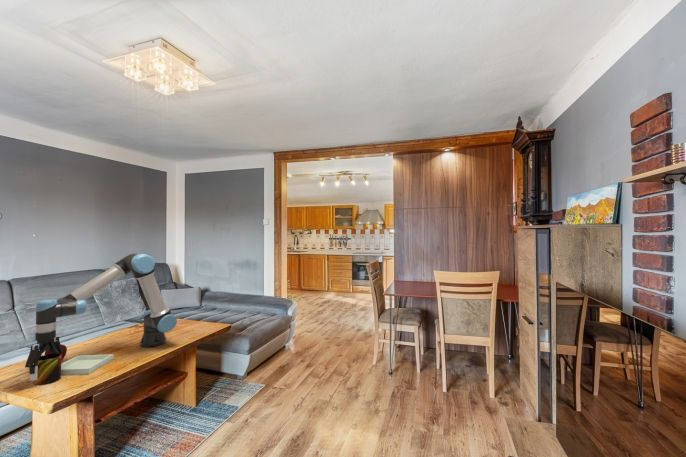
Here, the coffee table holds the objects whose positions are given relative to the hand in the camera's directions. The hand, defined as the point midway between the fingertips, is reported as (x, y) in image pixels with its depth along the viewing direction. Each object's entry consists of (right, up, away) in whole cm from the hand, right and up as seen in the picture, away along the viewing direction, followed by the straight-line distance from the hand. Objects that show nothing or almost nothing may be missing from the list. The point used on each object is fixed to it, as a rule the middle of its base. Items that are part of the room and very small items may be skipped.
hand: (44, 374), depth 155 cm
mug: (0, -3, 0) cm, 3 cm away
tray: (+6, -4, +16) cm, 17 cm away
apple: (-16, -4, +23) cm, 29 cm away
